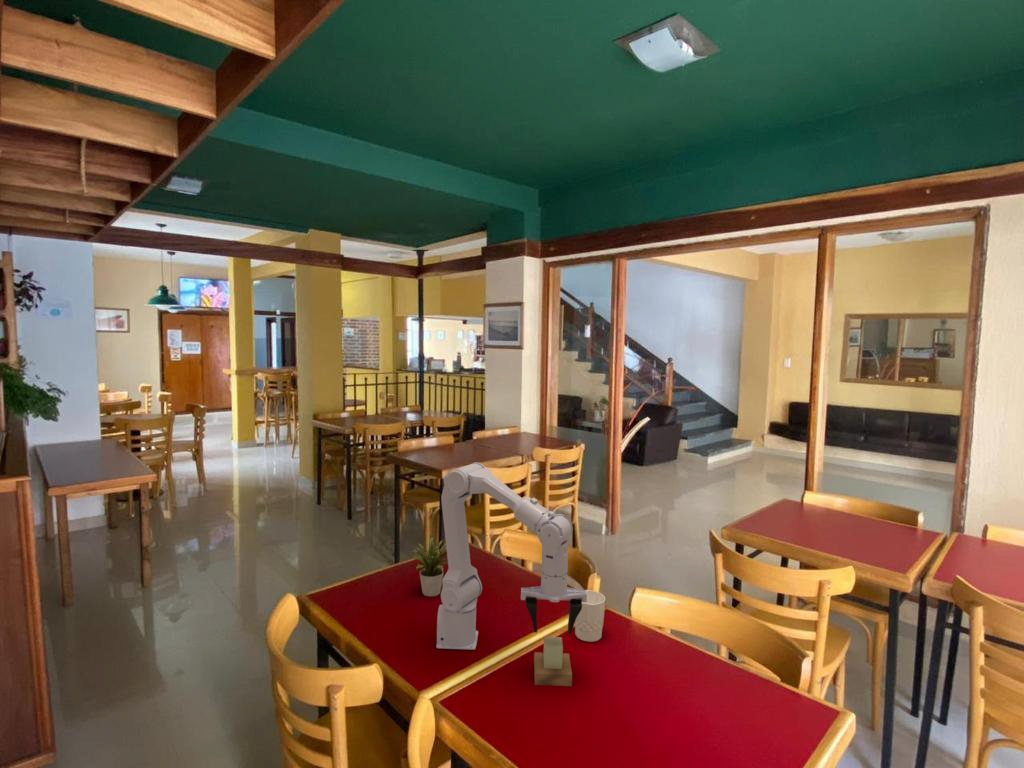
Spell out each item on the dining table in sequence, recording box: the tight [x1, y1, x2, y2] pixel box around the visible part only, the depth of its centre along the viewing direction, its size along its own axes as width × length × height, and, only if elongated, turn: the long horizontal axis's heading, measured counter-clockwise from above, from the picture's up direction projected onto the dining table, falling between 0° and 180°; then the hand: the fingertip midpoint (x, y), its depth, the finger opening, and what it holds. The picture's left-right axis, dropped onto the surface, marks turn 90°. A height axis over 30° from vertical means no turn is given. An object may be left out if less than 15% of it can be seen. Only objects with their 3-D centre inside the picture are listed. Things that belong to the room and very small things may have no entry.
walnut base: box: [533, 651, 573, 687], centre depth 119 cm, size 8×8×3 cm
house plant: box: [412, 536, 448, 597], centre depth 155 cm, size 14×14×16 cm
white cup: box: [574, 589, 606, 643], centre depth 135 cm, size 8×8×10 cm
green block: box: [542, 636, 564, 669], centre depth 118 cm, size 4×4×5 cm
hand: (552, 630), depth 119 cm, fingers open, 7 cm apart
